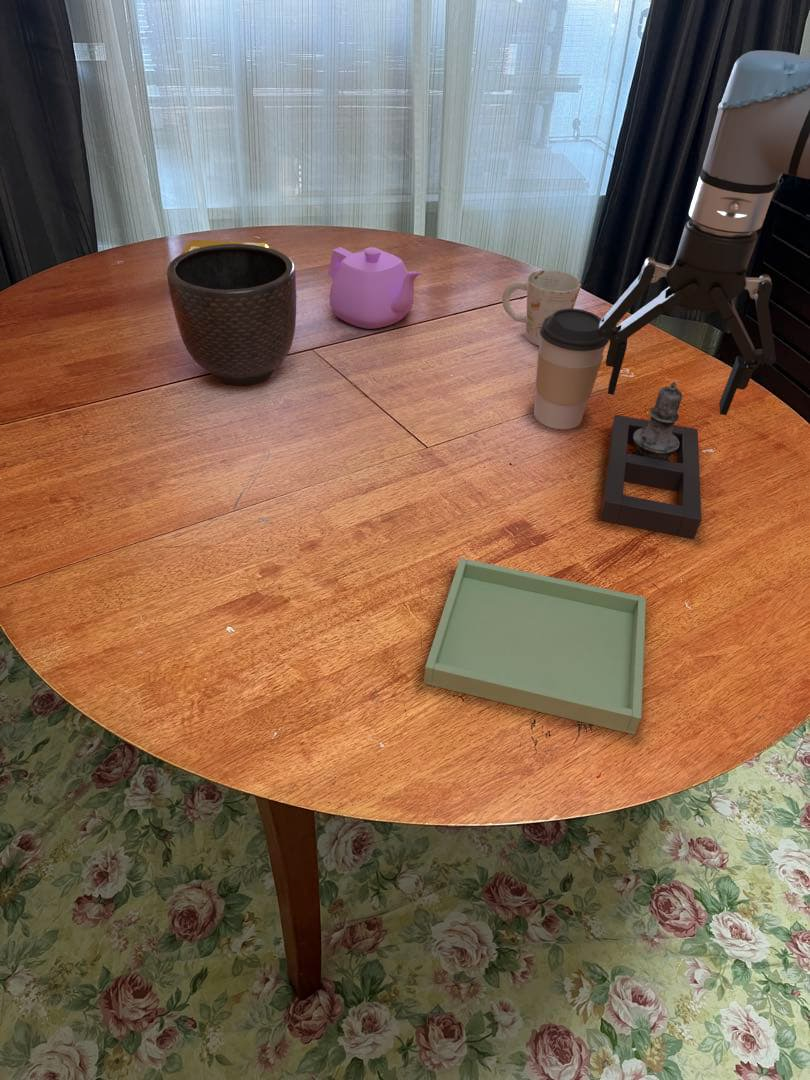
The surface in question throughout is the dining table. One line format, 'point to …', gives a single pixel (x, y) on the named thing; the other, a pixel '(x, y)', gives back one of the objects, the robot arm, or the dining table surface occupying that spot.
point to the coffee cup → (567, 367)
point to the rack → (652, 482)
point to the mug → (543, 298)
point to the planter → (235, 309)
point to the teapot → (370, 287)
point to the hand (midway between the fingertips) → (666, 399)
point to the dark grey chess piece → (660, 426)
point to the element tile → (204, 243)
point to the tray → (542, 645)
